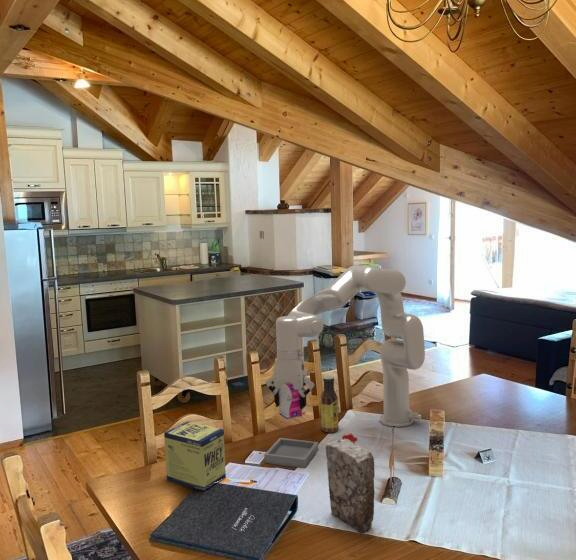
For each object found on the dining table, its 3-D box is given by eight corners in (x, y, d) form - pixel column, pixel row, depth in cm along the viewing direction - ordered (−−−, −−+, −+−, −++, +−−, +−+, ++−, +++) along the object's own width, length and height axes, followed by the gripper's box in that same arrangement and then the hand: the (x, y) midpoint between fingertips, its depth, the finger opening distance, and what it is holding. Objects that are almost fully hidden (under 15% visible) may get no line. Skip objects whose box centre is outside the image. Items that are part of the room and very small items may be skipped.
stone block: (324, 515, 147) (322, 442, 144) (343, 505, 151) (341, 435, 149) (361, 536, 136) (359, 458, 134) (380, 525, 141) (379, 450, 138)
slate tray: (318, 450, 187) (318, 442, 187) (305, 468, 174) (305, 459, 174) (280, 445, 192) (279, 437, 192) (264, 462, 179) (264, 454, 179)
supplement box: (287, 419, 178) (285, 385, 176) (278, 414, 183) (277, 380, 182) (302, 416, 180) (301, 382, 179) (294, 411, 185) (293, 377, 184)
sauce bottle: (337, 433, 200) (336, 380, 198) (320, 433, 202) (318, 380, 199) (339, 427, 207) (338, 375, 205) (322, 426, 208) (321, 375, 206)
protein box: (204, 492, 161) (202, 441, 159) (165, 480, 169) (162, 431, 168) (227, 477, 170) (224, 428, 168) (189, 466, 178) (186, 420, 176)
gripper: (317, 353, 180) (319, 405, 182) (268, 350, 186) (270, 400, 188) (310, 358, 173) (312, 413, 175) (259, 355, 179) (261, 408, 181)
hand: (290, 406), depth 181 cm, fingers closed on supplement box, 8 cm apart
